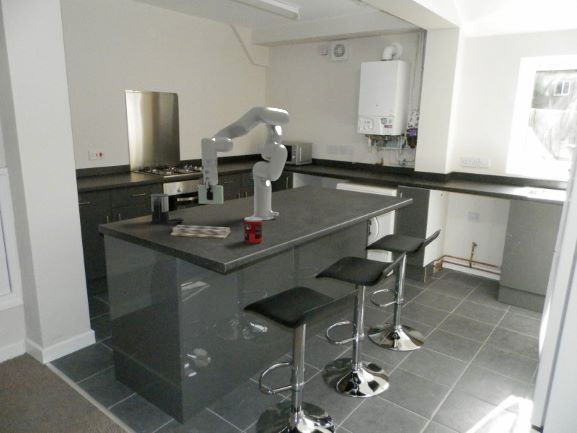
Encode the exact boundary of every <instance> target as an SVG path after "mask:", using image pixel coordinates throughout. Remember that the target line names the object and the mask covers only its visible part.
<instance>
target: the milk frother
mask: <svg viewBox="0 0 577 433" xmlns="http://www.w3.org/2000/svg"><path fill="white" fill-rule="evenodd" d="M150 197H151V198H150V199H151V200H150V201H151V203H150V206H151V223H152V224H155V225H160V224H161V225H164V224H168V223H178V224H181V223H183V222H184V221H185V220H184V218H182V217H177V218H171V219H170V213H169V212H170V211H169V194H168V193H152V194H150Z"/></svg>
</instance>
